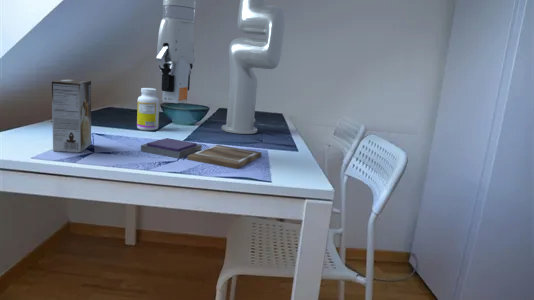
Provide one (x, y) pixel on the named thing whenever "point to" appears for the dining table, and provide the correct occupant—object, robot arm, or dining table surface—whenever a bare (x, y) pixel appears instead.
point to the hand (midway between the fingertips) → (175, 90)
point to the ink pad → (171, 148)
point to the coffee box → (71, 115)
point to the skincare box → (178, 83)
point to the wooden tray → (225, 156)
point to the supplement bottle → (148, 110)
